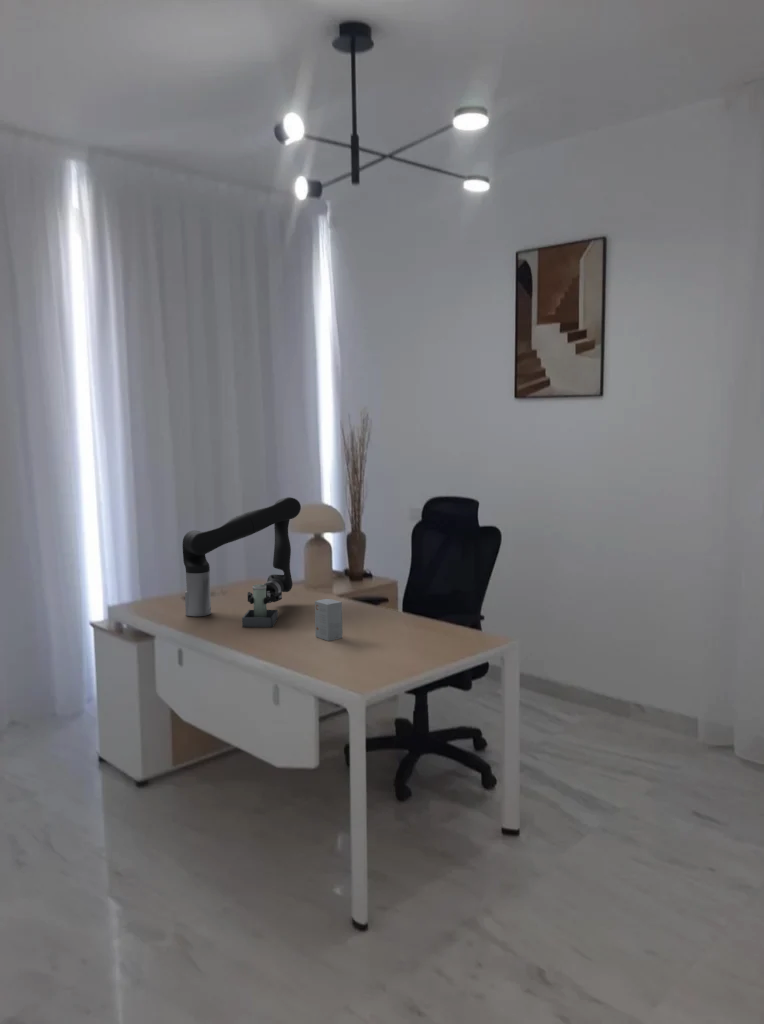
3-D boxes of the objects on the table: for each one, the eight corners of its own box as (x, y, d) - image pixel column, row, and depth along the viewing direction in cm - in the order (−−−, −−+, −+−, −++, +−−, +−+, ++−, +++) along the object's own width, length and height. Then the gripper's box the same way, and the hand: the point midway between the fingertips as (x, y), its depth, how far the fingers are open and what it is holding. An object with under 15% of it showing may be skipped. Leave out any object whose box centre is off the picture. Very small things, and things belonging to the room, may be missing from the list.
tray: (242, 627, 299) (242, 617, 299) (249, 618, 312) (248, 609, 312) (272, 627, 299) (272, 617, 298) (277, 618, 312) (277, 609, 311)
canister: (251, 618, 303) (251, 587, 301) (255, 615, 308) (254, 584, 306) (265, 618, 302) (264, 587, 301) (268, 615, 307) (267, 584, 306)
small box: (342, 638, 283) (342, 601, 281) (328, 641, 279) (327, 604, 277) (329, 633, 289) (328, 598, 287) (314, 636, 285) (314, 600, 283)
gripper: (251, 582, 319) (239, 591, 302) (287, 582, 317) (276, 591, 301) (252, 600, 320) (239, 610, 303) (287, 601, 318) (277, 611, 301)
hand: (258, 601), depth 302 cm, fingers closed on canister, 4 cm apart
